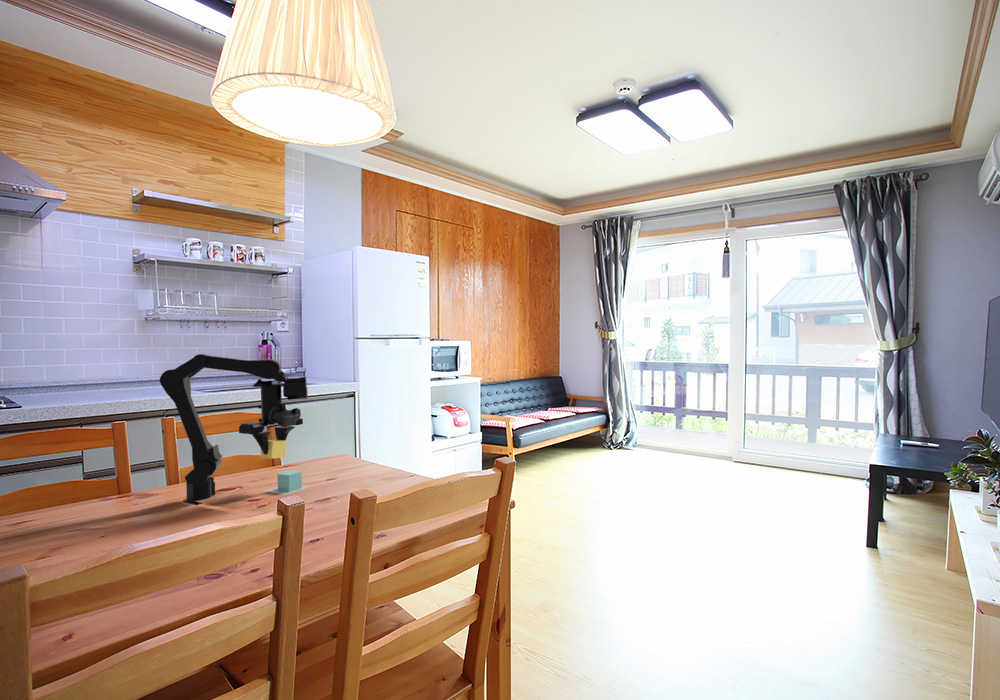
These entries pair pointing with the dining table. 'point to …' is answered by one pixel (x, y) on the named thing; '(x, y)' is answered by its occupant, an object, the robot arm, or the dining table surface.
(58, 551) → the dining table surface
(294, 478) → the teal brick
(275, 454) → the ochre brick
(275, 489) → the build plate
